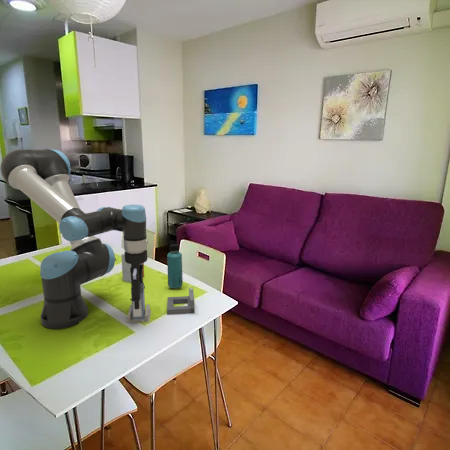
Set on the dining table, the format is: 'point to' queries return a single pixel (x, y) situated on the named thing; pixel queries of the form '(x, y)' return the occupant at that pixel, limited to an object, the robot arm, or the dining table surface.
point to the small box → (127, 269)
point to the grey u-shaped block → (146, 319)
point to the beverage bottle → (174, 267)
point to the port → (181, 300)
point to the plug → (141, 302)
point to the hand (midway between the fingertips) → (138, 310)
